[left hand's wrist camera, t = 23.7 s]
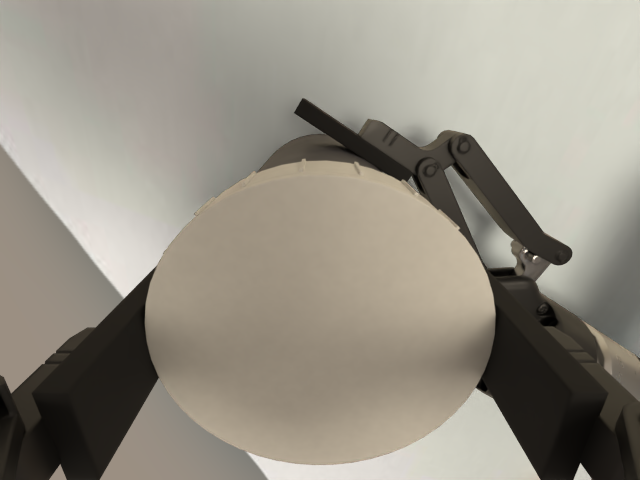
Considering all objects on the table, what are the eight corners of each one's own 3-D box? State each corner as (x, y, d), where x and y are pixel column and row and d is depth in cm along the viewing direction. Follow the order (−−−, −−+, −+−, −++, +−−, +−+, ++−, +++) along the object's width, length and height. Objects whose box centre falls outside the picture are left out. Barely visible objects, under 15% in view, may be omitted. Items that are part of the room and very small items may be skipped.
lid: (531, 240, 12) (577, 270, 9) (379, 443, 15) (389, 498, 13) (230, 96, 10) (206, 95, 8) (140, 364, 13) (108, 411, 11)
